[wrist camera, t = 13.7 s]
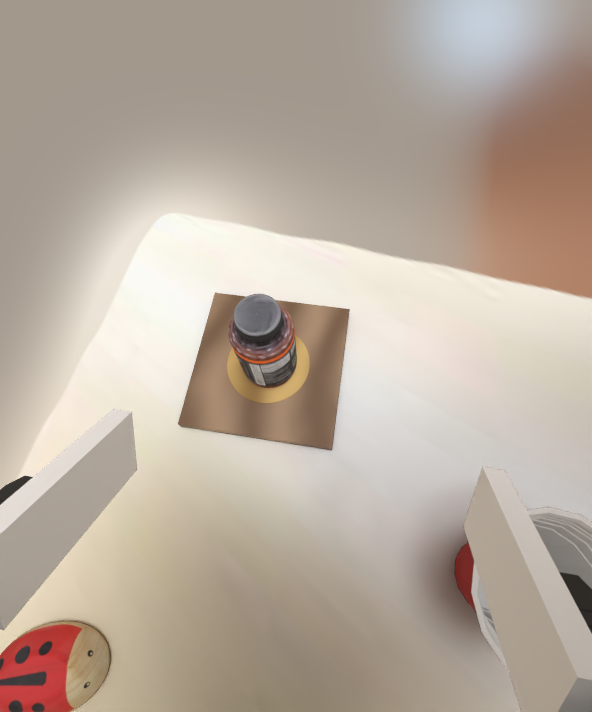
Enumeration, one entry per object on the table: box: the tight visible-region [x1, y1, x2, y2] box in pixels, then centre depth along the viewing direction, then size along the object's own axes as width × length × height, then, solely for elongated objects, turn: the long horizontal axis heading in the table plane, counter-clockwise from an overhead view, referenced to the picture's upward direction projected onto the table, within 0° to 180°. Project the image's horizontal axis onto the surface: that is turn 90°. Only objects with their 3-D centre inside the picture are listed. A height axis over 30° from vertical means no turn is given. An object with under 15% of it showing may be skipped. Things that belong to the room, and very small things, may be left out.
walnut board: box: [178, 293, 350, 450], centre depth 43 cm, size 16×16×1 cm
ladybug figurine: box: [0, 621, 110, 712], centre depth 32 cm, size 7×10×4 cm
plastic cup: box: [455, 507, 592, 671], centre depth 30 cm, size 11×11×12 cm
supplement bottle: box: [228, 294, 297, 388], centre depth 38 cm, size 6×6×11 cm
